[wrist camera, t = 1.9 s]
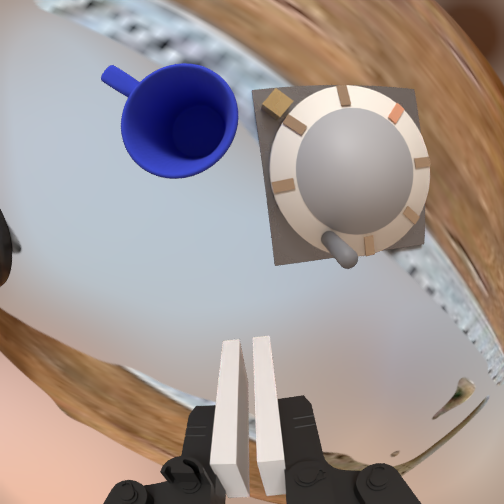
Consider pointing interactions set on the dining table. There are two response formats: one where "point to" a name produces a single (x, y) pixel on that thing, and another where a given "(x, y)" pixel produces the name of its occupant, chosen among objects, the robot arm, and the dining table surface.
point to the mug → (176, 118)
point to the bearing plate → (268, 122)
